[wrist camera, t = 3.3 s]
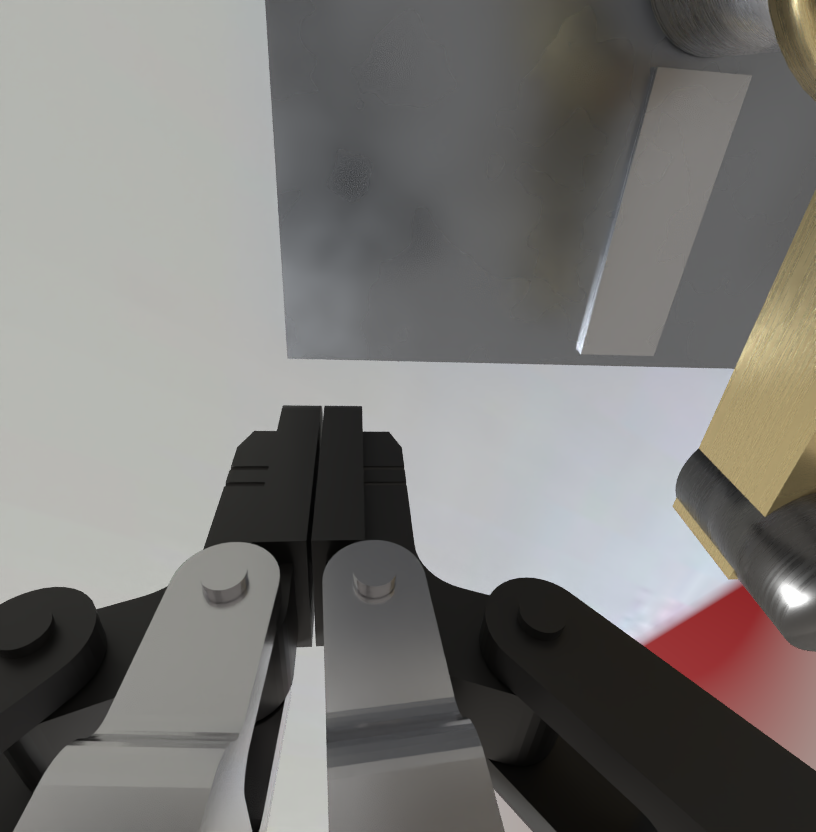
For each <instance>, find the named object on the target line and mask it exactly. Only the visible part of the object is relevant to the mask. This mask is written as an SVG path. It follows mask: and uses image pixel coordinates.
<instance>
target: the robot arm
mask: <svg viewBox="0 0 816 832" xmlns="http://www.w3.org/2000/svg"><path fill="white" fill-rule="evenodd" d="M314 612H315V634H316V646H324V661H325V698H326V740H327V780H328V817H329V832H505V831H504V827H503V823H502V820H501V816H500V812H499V808H498V804H497V800H496V797H495V793H494V790H495V791H496V792H497V793H498V794H499V795H500V796H501V797H502V798H503V799H504V801H505V802H506V803H507V804H508V805H509V806H510V807H511V808H512V809H513V810H514V812H515V813H516V814H517V815H518V816H519V817H520V818H521V819H522V820H523V821H524V823H525V824H526V825H527V826H528V827H529V828H530V829H531V830H532V831H533V832H816V771H815V770H814V769H812V768H811V767H810V766H808V765H807V764H805V763H804V762H803V761H801V760H800V759H799V758H797V757H796V756H794V755H793V754H791V753H790V752H789V751H787V750H786V749H785V748H783V747H782V746H780V745H779V744H778V743H776V742H775V741H774V740H772V739H771V738H770V737H768V736H767V735H765V734H764V733H762V732H761V731H760V730H759V729H757V728H756V727H754V726H753V725H752V724H750V723H749V722H747V721H746V720H745V719H743V718H742V717H741V716H739V715H738V714H736V713H735V712H734V711H732V710H731V709H730V708H728V707H727V706H725V705H724V704H723V703H721V702H720V701H719V700H717V699H716V698H714V697H713V696H712V695H710V694H709V693H708V692H706V691H705V690H703V689H702V688H701V687H699V686H698V685H697V684H695V683H694V682H692V681H691V680H690V679H688V678H687V677H685V676H684V675H683V674H681V673H680V672H678V671H677V670H676V669H674V668H673V667H672V666H670V665H669V664H668V663H666V662H665V661H663V660H662V659H661V658H659V657H658V656H656V655H655V654H654V653H652V652H651V651H650V650H648V649H647V648H646V647H644V646H643V645H641V644H640V643H639V642H637V641H636V640H634V639H633V638H632V637H630V636H629V635H628V634H626V633H625V632H623V631H622V630H621V629H619V628H618V627H617V626H615V625H614V624H612V623H611V622H610V621H608V620H607V619H606V618H604V617H603V616H601V615H600V614H599V613H597V612H596V611H595V610H593V609H592V608H590V607H589V606H588V605H586V604H585V603H583V602H582V601H581V600H579V599H578V598H577V597H575V596H574V595H572V594H571V593H570V592H568V591H567V590H565V589H563V588H562V587H560V586H558V585H556V584H554V583H551V582H548V581H545V580H541V579H536V578H517V579H512V580H509V581H507V582H504V583H502V584H501V585H499V586H498V587H497V588H496V589H495V590H494V591H493V592H492V593H491V595H486V594H482V593H478V592H474V591H471V590H467V589H463V588H459V587H456V586H453V585H451V584H448V583H446V582H444V581H442V580H441V579H439V578H437V577H436V576H435V575H433V574H432V573H431V572H430V571H429V570H428V569H427V568H426V567H425V566H424V565H423V564H422V562H421V561H420V559H419V557H418V555H417V553H416V550H415V545H414V538H413V530H412V523H411V515H410V507H409V500H408V492H407V486H406V477H405V470H404V461H403V454H402V447H401V446H400V445H399V444H398V442H397V441H396V440H395V439H394V438H393V436H392V435H391V434H390V433H389V432H363V429H362V406H325V407H324V417H323V413H322V406H286V405H284V406H283V408H282V412H281V416H280V420H279V424H278V429H277V431H254V432H253V433H252V434H251V435H250V436H249V437H248V438H247V439H245V440H244V441H243V442H242V443H241V444H240V445H239V446H238V447H237V450H236V453H235V456H234V459H233V462H232V465H231V470H230V471H229V474H228V477H227V480H226V486H224V489H223V492H222V495H221V498H220V501H219V504H218V507H217V510H216V513H215V516H214V519H213V522H212V525H211V528H210V531H209V534H208V537H207V540H206V543H205V546H204V549H203V550H202V551H200V552H198V553H196V554H195V555H193V556H192V557H190V558H189V559H187V560H186V561H185V562H184V563H183V564H182V565H181V566H180V567H179V568H178V570H177V571H176V572H175V574H174V575H173V577H172V579H171V581H170V583H169V585H168V586H167V587H165V588H163V589H161V590H159V591H157V592H154V593H152V594H149V595H146V596H143V597H139V598H136V599H132V600H129V601H125V602H121V603H118V604H114V605H111V606H107V607H103V608H100V609H96V608H95V606H94V604H93V601H92V600H91V599H90V598H89V597H88V596H87V595H86V594H84V593H83V592H81V591H78V590H76V589H72V588H66V587H51V588H43V589H38V590H34V591H31V592H27V593H24V594H21V595H19V596H17V597H14V598H12V599H10V600H8V601H6V602H4V603H2V604H0V832H266V831H267V826H268V820H269V815H270V809H271V804H272V798H273V793H274V787H275V782H276V776H277V771H278V765H279V760H280V755H281V749H282V744H283V738H284V733H285V727H286V722H287V716H288V711H289V705H290V699H291V685H292V681H293V675H294V666H295V657H296V647H312V637H313V624H314ZM493 788H494V789H493Z"/></svg>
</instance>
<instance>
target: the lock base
mask: <svg viewBox="0 0 816 832" xmlns="http://www.w3.org/2000/svg"><path fill="white" fill-rule="evenodd" d="M265 5H266V21H267V37H268V53H269V69H270V84H271V100H272V116H273V132H274V148H275V164H276V180H277V196H278V212H279V228H280V244H281V260H282V276H283V292H284V308H285V324H286V340H287V356H288V358H291V359H335V360H379V361H423V362H467V363H511V364H555V365H599V366H644V367H688V368H732V369H735V367H736V365H737V363H738V360H739V358H740V356H741V354H742V352H743V349H744V347H745V345H746V343H747V340H748V338H749V336H750V334H751V332H752V329H753V327H754V325H755V323H756V320H757V318H758V316H759V314H760V312H761V309H762V307H763V305H764V303H765V301H766V298H767V296H768V294H769V292H770V289H771V287H772V285H773V283H774V281H775V278H776V276H777V274H778V272H779V270H780V267H781V265H782V263H783V261H784V258H785V256H786V254H787V252H788V250H789V247H790V245H791V243H792V241H793V238H794V236H795V234H796V232H797V230H798V227H799V225H800V223H801V221H802V219H803V216H804V214H805V212H806V210H807V207H808V205H809V203H810V201H811V199H812V196H813V194H814V192H815V190H816V102H815V101H814V100H813V99H812V98H811V97H810V96H809V95H808V94H807V93H806V92H805V91H804V90H803V88H802V87H801V86H800V84H799V83H798V81H797V80H796V78H795V77H794V75H793V74H792V72H791V71H790V69H789V68H788V65H787V63H786V61H785V59H784V56H783V54H782V52H781V50H780V48H779V45H778V43H777V40H776V36H775V32H774V28H773V25H772V21H771V17H770V14H769V7H768V0H265Z"/></svg>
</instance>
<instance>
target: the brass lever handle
mask: <svg viewBox="0 0 816 832" xmlns="http://www.w3.org/2000/svg"><path fill="white" fill-rule="evenodd" d="M768 7H769V14H770V17H771V21H772V25H773V28H774V32H775V36H776V40H777V43H778V45H779V48H780V50H781V52H782V54H783V56H784V59H785V61H786V63H787V65H788V68H789V69H790V71H791V72H792V74H793V75H794V77H795V78H796V80H797V81H798V83H799V84H800V86H801V87H802V88H803V90H804V91H805V92H806V93H807V94H808V95H809V96H810V97H811V98H812V99H813V100H814V101H815V102H816V0H768ZM676 497H677V498H676V500H675V502H674V505H673V507H674V509H675V510H676V511H677V513H678V514H679V515H680V517H681V518H682V519H683V521H684V522H685V523H686V524H687V526H688V527H689V528H690V530H691V531H692V532H693V534H694V535H695V536H696V537H697V539H698V540H699V541H700V543H701V544H702V545H703V547H704V548H705V549H706V551H707V552H708V553H709V554H710V556H711V557H712V558H713V560H714V561H715V562H716V564H717V565H718V566H719V568H720V569H721V570H722V571H723V573H724V574H725V575H726V577H727V578H728V579H739V580H740V582H741V583H742V584H743V585H744V587H745V588H746V589H747V590H748V592H749V593H750V594H751V596H752V597H753V598H754V599H755V601H756V602H757V603H758V604H759V606H760V607H761V608H762V610H763V611H764V612H765V613H766V615H767V616H768V617H769V618H770V620H771V621H772V622H773V624H774V625H775V626H776V627H777V629H778V630H779V631H780V633H781V634H782V635H783V636H784V638H785V639H786V640H787V641H788V642H789V643H790V644H791V645H793V646H795V647H797V648H799V649H802V650H807V651H815V652H816V190H815V192H814V194H813V196H812V199H811V201H810V203H809V205H808V207H807V210H806V212H805V214H804V216H803V219H802V221H801V223H800V225H799V227H798V230H797V232H796V234H795V236H794V238H793V241H792V243H791V245H790V247H789V250H788V252H787V254H786V256H785V258H784V261H783V263H782V265H781V267H780V270H779V272H778V274H777V276H776V278H775V281H774V283H773V285H772V287H771V289H770V292H769V294H768V296H767V298H766V301H765V303H764V305H763V307H762V309H761V312H760V314H759V316H758V318H757V320H756V323H755V325H754V327H753V329H752V332H751V334H750V336H749V338H748V340H747V343H746V345H745V347H744V349H743V352H742V354H741V356H740V358H739V360H738V363H737V365H736V367H735V369H734V371H733V374H732V376H731V378H730V380H729V383H728V385H727V387H726V389H725V391H724V394H723V396H722V398H721V400H720V403H719V405H718V407H717V409H716V411H715V414H714V416H713V418H712V420H711V422H710V425H709V427H708V429H707V431H706V434H705V436H704V438H703V440H702V442H701V445H700V447H699V449H698V450H697V451H696V452H695V453H694V454H692V456H691V457H690V458H689V459H688V460H687V462H686V463H685V465H684V466H683V468H682V469H681V471H680V473H679V476H678V479H677V483H676Z"/></svg>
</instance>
